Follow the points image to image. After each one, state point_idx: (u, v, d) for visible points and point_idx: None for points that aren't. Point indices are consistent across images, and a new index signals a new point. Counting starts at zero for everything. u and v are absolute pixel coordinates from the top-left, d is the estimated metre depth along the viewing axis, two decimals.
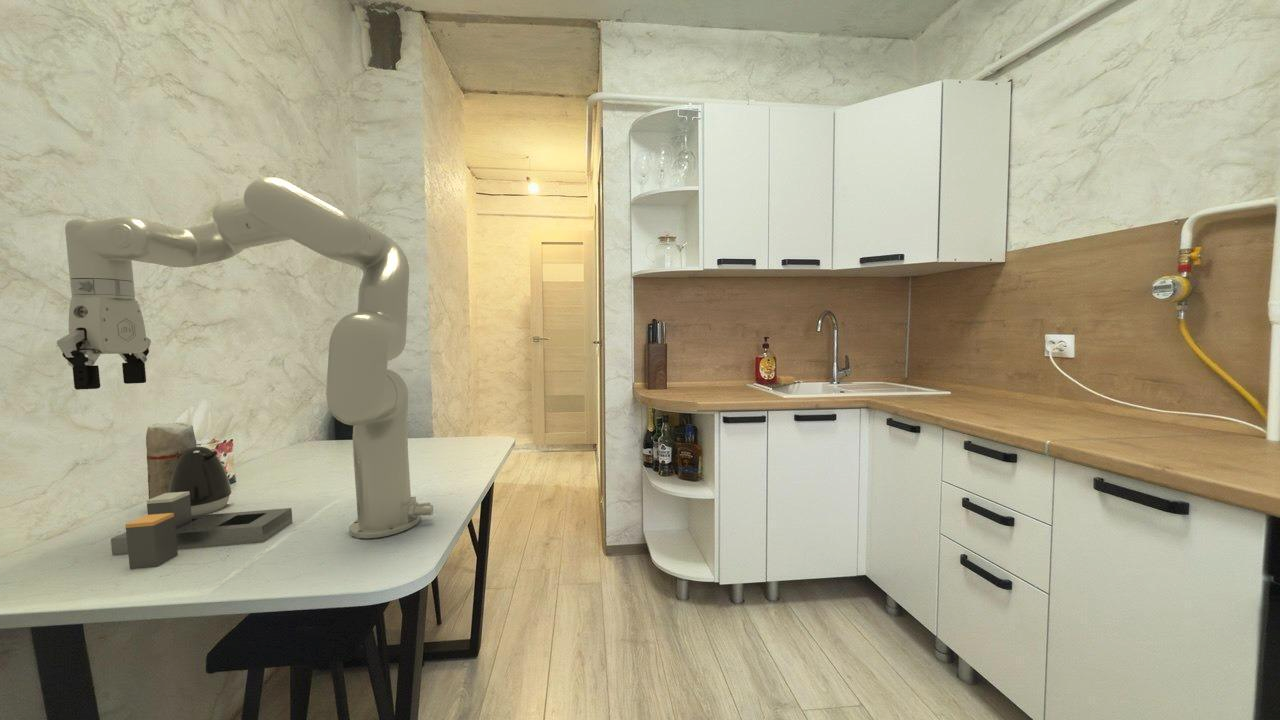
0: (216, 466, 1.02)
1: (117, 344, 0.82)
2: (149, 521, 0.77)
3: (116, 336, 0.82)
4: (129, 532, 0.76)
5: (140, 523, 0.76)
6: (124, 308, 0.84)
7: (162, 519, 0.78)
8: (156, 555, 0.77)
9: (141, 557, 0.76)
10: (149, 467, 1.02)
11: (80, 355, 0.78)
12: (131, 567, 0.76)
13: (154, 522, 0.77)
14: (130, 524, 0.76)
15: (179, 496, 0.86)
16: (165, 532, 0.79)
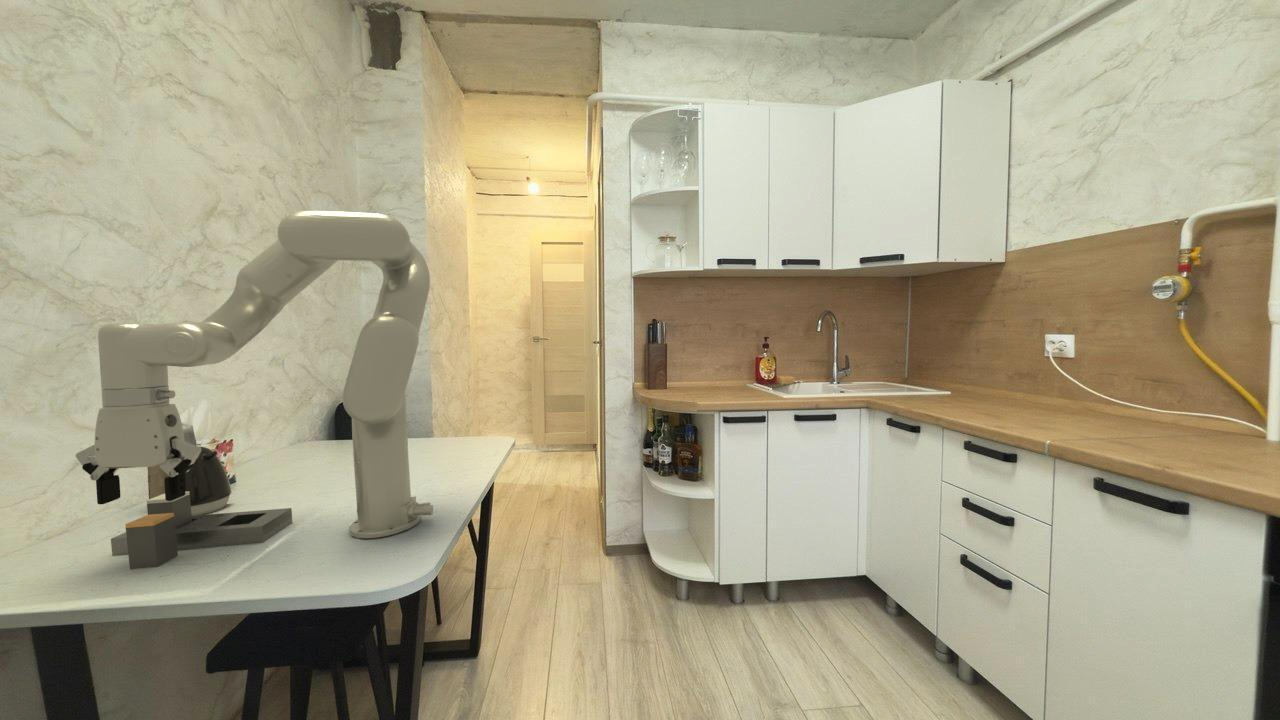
0: (216, 466, 1.02)
1: None
2: (149, 521, 0.77)
3: None
4: (129, 532, 0.76)
5: (140, 523, 0.76)
6: None
7: (162, 519, 0.78)
8: (156, 555, 0.77)
9: (141, 557, 0.76)
10: (149, 467, 1.02)
11: None
12: (131, 567, 0.76)
13: (154, 522, 0.77)
14: (130, 524, 0.76)
15: None
16: (165, 532, 0.79)
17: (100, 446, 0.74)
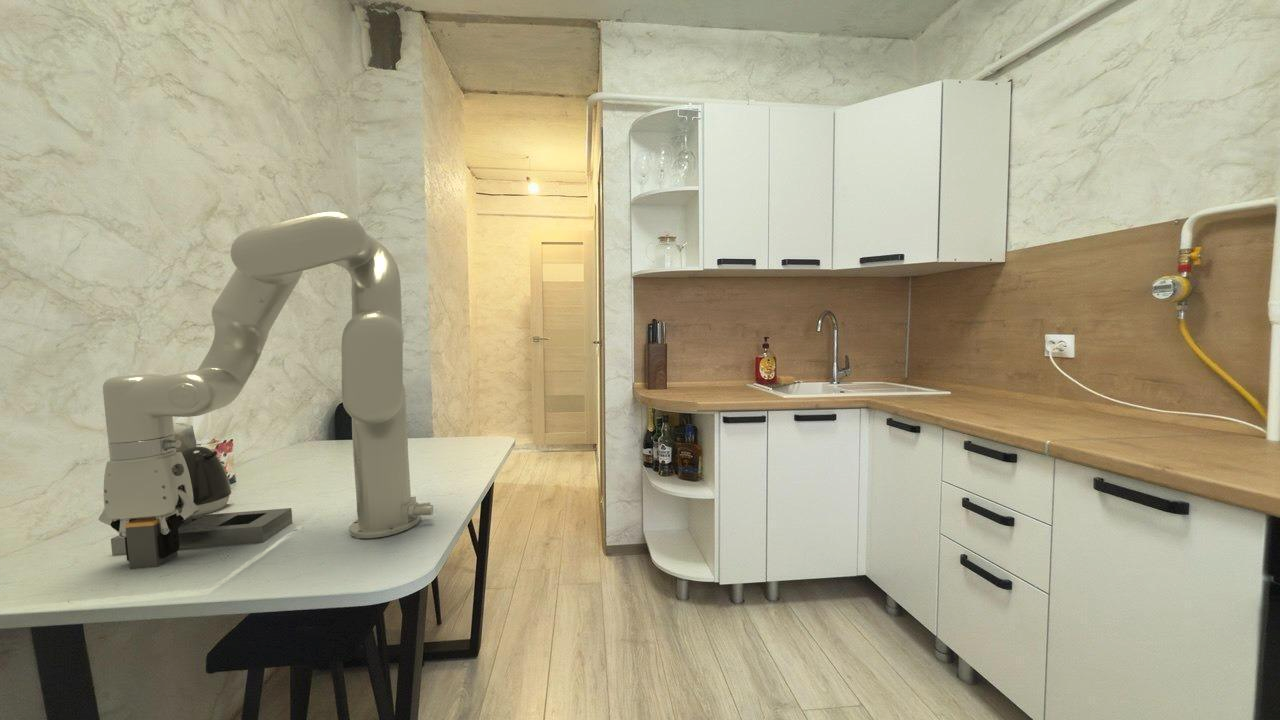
0: (216, 466, 1.02)
1: None
2: (149, 521, 0.77)
3: None
4: (129, 532, 0.76)
5: (140, 523, 0.76)
6: None
7: None
8: (156, 555, 0.77)
9: (141, 557, 0.76)
10: None
11: None
12: (130, 567, 0.76)
13: (154, 522, 0.77)
14: (130, 524, 0.76)
15: None
16: None
17: (109, 498, 0.75)
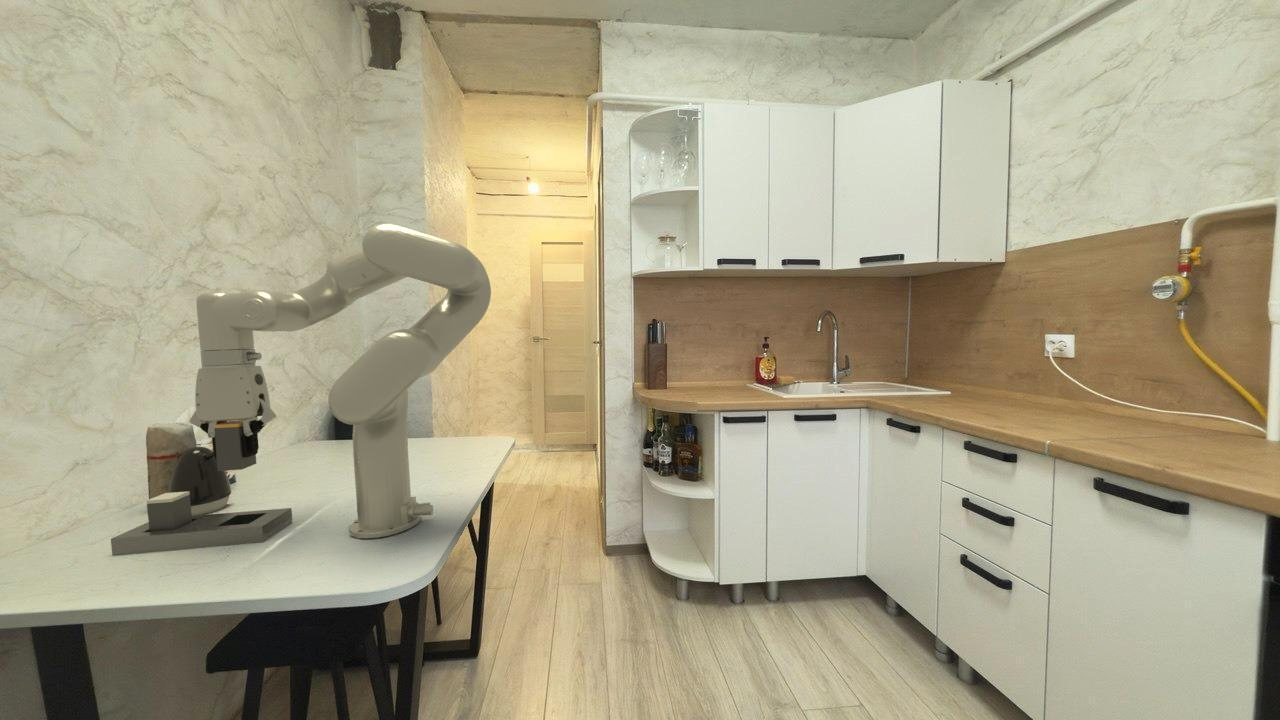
0: (216, 466, 1.02)
1: None
2: (234, 423, 0.86)
3: None
4: (217, 432, 0.85)
5: (227, 424, 0.85)
6: None
7: None
8: (240, 454, 0.86)
9: (227, 455, 0.86)
10: (149, 467, 1.02)
11: None
12: (218, 464, 0.85)
13: (239, 424, 0.86)
14: (218, 425, 0.85)
15: (179, 496, 0.86)
16: None
17: (200, 401, 0.84)
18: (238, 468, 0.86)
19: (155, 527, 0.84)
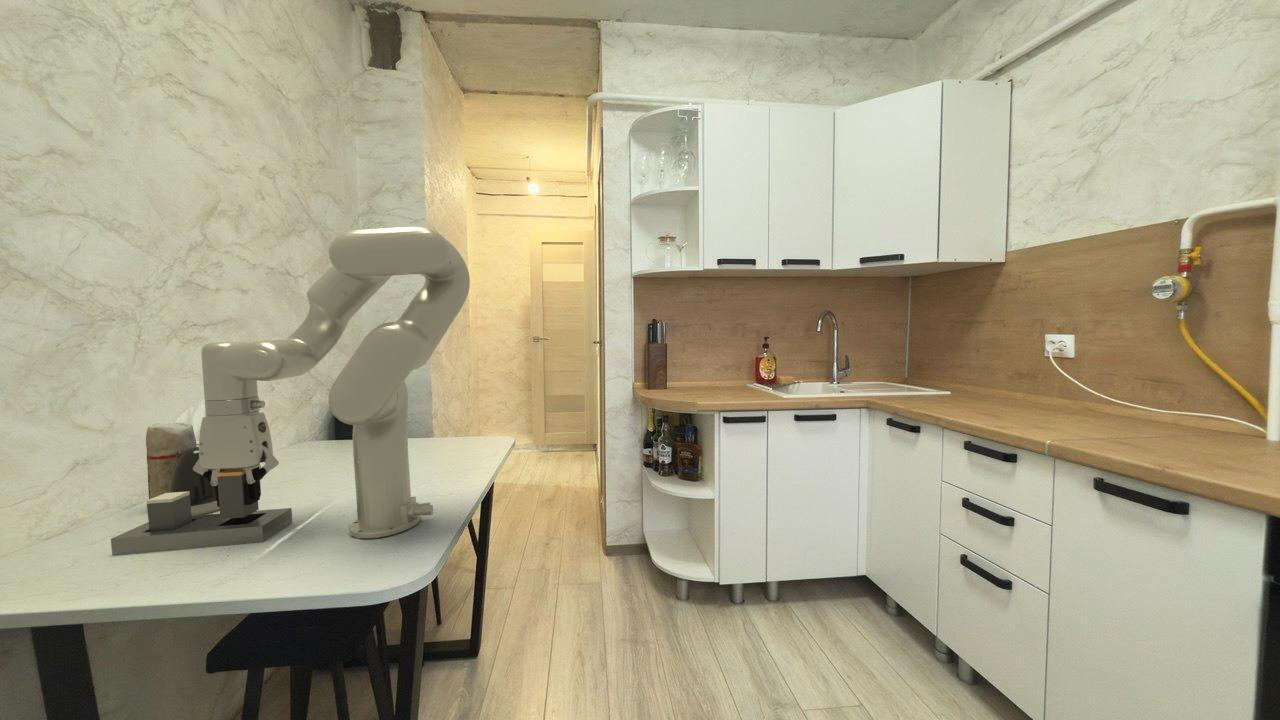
0: None
1: None
2: (237, 471, 0.86)
3: None
4: (220, 480, 0.86)
5: (230, 473, 0.86)
6: None
7: None
8: (243, 502, 0.86)
9: (230, 503, 0.86)
10: (149, 467, 1.02)
11: None
12: (220, 512, 0.86)
13: (242, 472, 0.86)
14: (221, 473, 0.86)
15: (179, 496, 0.86)
16: None
17: (204, 450, 0.85)
18: (240, 516, 0.86)
19: (155, 527, 0.84)
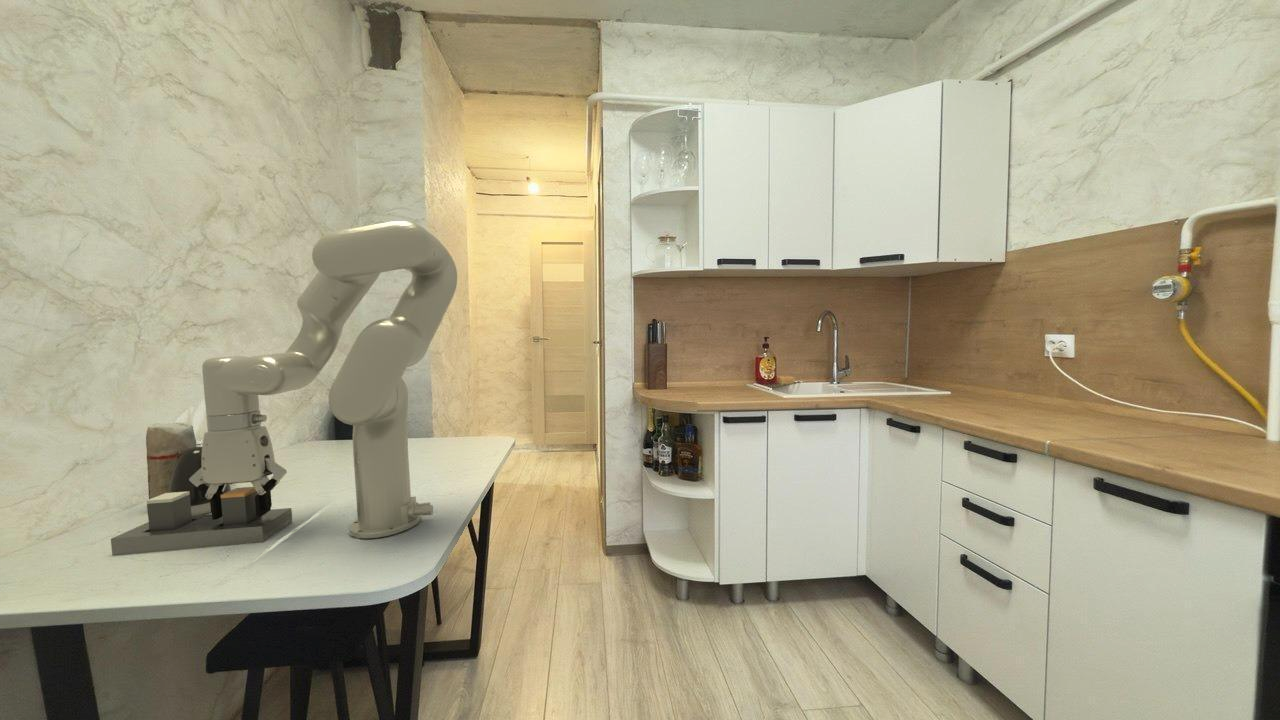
0: None
1: None
2: (240, 492, 0.87)
3: None
4: (224, 502, 0.86)
5: (233, 494, 0.86)
6: None
7: (251, 491, 0.88)
8: (246, 523, 0.87)
9: (234, 524, 0.86)
10: (149, 467, 1.02)
11: None
12: None
13: (245, 493, 0.87)
14: (225, 495, 0.86)
15: (179, 496, 0.86)
16: (253, 502, 0.89)
17: (206, 465, 0.85)
18: None
19: (155, 527, 0.84)
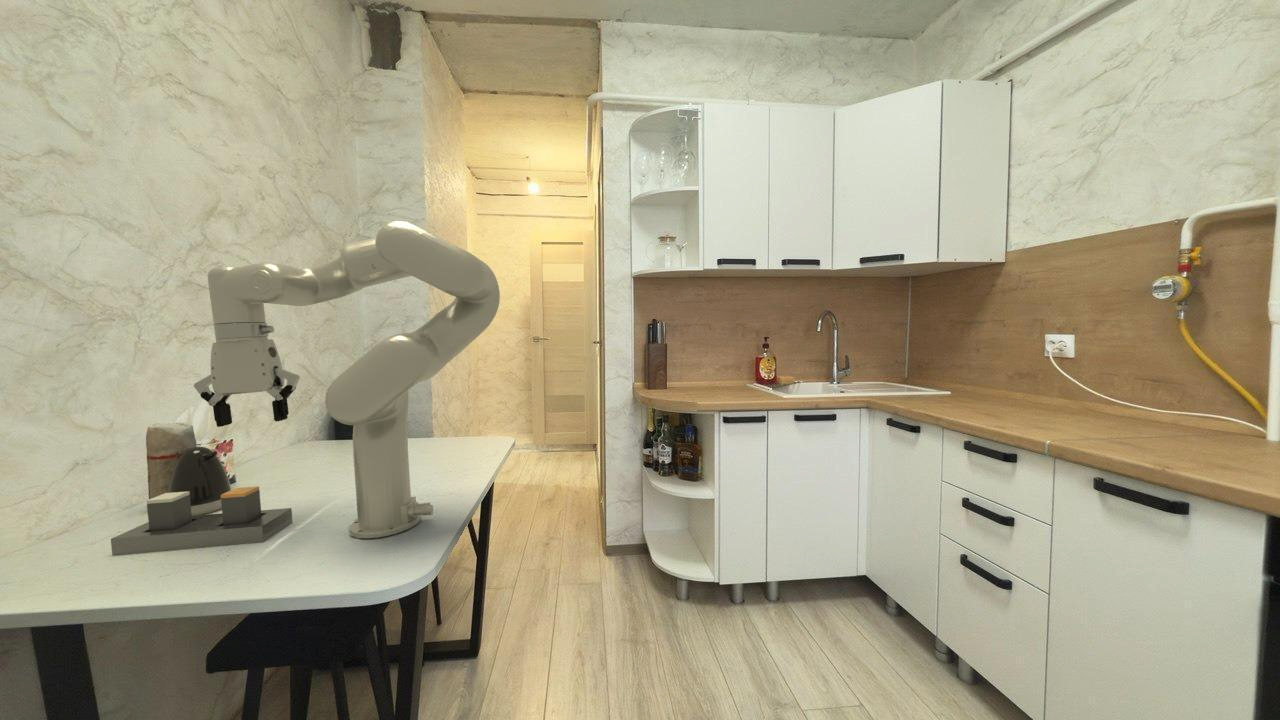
0: (216, 466, 1.02)
1: None
2: (240, 492, 0.87)
3: None
4: (224, 502, 0.86)
5: (233, 494, 0.86)
6: None
7: (251, 491, 0.88)
8: (246, 523, 0.87)
9: (234, 524, 0.86)
10: (149, 467, 1.02)
11: None
12: None
13: (245, 493, 0.87)
14: (225, 495, 0.86)
15: (179, 496, 0.86)
16: (253, 502, 0.89)
17: (216, 375, 0.86)
18: None
19: (155, 527, 0.84)
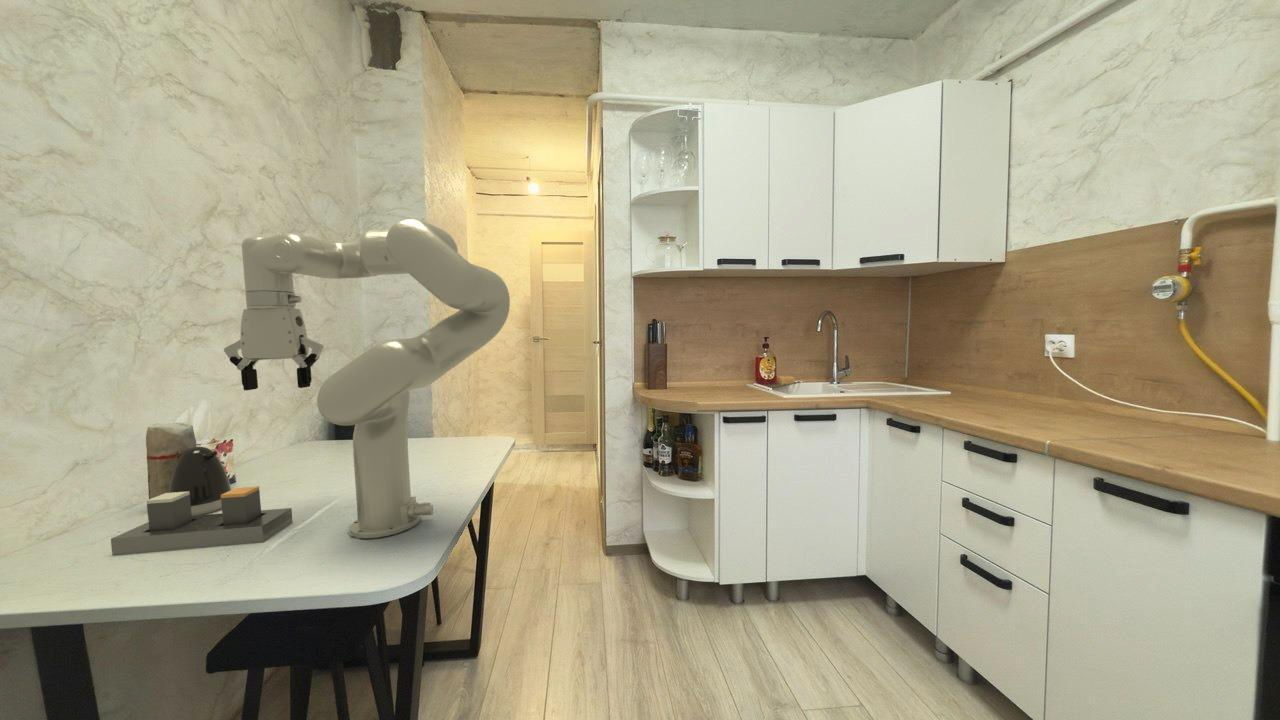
0: (216, 466, 1.02)
1: None
2: (240, 492, 0.87)
3: None
4: (224, 502, 0.86)
5: (233, 494, 0.86)
6: None
7: (251, 491, 0.88)
8: (246, 523, 0.87)
9: (234, 524, 0.86)
10: (149, 467, 1.02)
11: None
12: None
13: (245, 493, 0.87)
14: (225, 495, 0.86)
15: (179, 496, 0.86)
16: (253, 502, 0.89)
17: (245, 340, 0.89)
18: None
19: (155, 527, 0.84)
